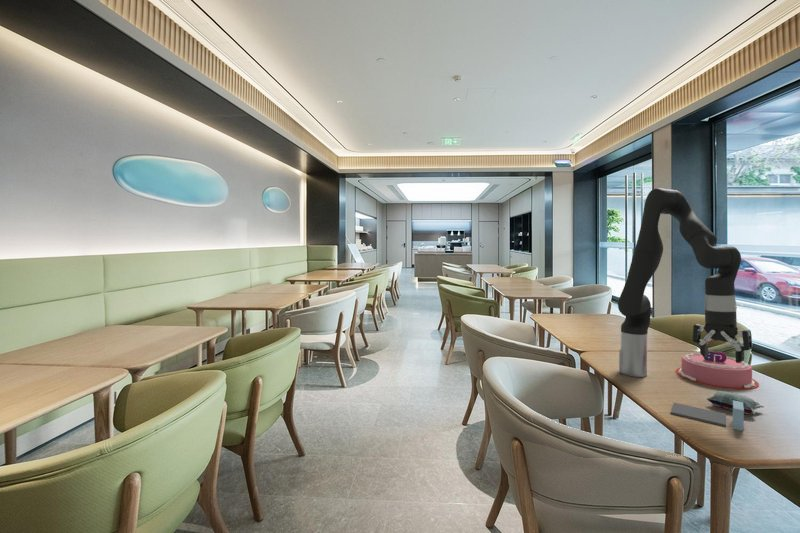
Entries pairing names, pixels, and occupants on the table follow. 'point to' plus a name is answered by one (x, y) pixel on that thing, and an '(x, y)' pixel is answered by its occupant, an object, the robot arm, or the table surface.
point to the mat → (699, 414)
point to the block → (738, 415)
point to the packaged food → (727, 398)
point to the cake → (717, 371)
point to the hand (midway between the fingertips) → (721, 359)
